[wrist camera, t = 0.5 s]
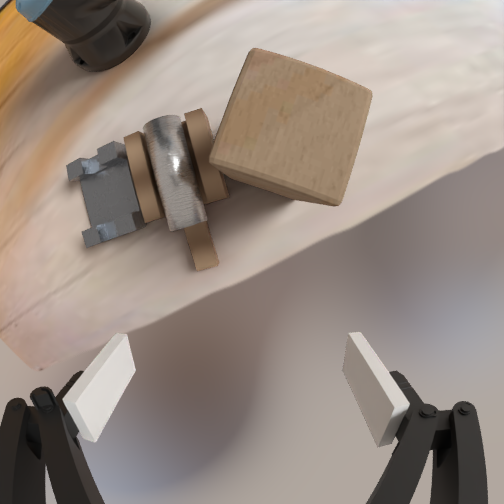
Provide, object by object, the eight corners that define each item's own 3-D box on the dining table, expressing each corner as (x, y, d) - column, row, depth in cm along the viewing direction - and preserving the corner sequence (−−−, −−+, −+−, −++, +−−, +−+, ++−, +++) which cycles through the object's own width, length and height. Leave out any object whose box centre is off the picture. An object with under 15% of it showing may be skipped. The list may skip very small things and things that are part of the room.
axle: (151, 133, 34) (137, 126, 30) (184, 121, 34) (174, 111, 29) (176, 228, 37) (165, 233, 32) (210, 218, 37) (203, 222, 32)
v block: (79, 166, 37) (66, 165, 33) (125, 145, 37) (113, 141, 33) (99, 243, 40) (86, 247, 36) (146, 226, 39) (136, 230, 35)
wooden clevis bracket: (137, 143, 37) (123, 137, 32) (207, 118, 36) (201, 108, 31) (174, 274, 41) (165, 284, 36) (246, 255, 40) (245, 263, 35)
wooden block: (228, 178, 38) (205, 163, 18) (251, 113, 36) (251, 44, 16) (296, 200, 39) (341, 209, 19) (318, 136, 37) (376, 90, 17)
